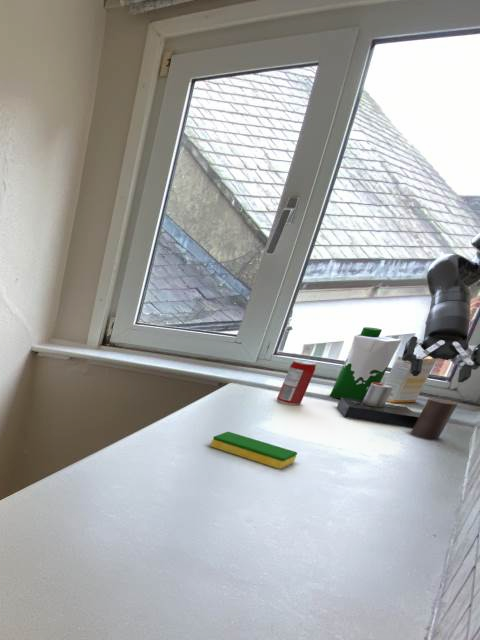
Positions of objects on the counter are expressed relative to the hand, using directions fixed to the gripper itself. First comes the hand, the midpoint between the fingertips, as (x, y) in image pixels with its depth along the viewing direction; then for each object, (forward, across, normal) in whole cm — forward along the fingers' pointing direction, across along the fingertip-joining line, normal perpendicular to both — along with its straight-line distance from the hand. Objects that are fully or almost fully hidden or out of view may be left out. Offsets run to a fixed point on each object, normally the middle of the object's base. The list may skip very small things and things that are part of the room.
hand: (439, 377), depth 135 cm
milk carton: (-6, -9, +25) cm, 27 cm away
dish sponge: (+44, -39, -25) cm, 64 cm away
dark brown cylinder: (+15, 0, +3) cm, 15 cm away
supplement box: (-11, +3, +30) cm, 32 cm away
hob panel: (+7, -7, +11) cm, 15 cm away
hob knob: (+4, -8, +10) cm, 14 cm away
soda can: (+6, -26, +13) cm, 29 cm away
